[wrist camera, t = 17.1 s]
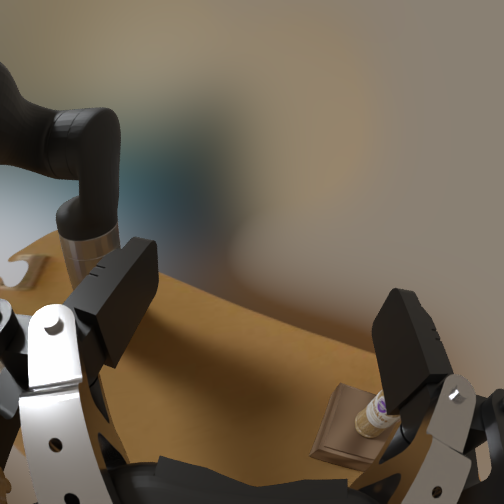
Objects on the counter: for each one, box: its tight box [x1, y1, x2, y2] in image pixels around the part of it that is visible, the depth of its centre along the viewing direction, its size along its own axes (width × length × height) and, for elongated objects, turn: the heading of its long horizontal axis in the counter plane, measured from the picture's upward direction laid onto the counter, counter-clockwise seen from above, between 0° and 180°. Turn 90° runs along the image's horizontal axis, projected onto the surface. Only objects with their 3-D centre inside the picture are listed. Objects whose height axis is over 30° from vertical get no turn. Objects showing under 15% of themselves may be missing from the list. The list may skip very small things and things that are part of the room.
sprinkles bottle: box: [355, 390, 400, 438], centre depth 25 cm, size 5×5×13 cm
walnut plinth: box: [309, 383, 401, 472], centre depth 30 cm, size 11×11×4 cm
